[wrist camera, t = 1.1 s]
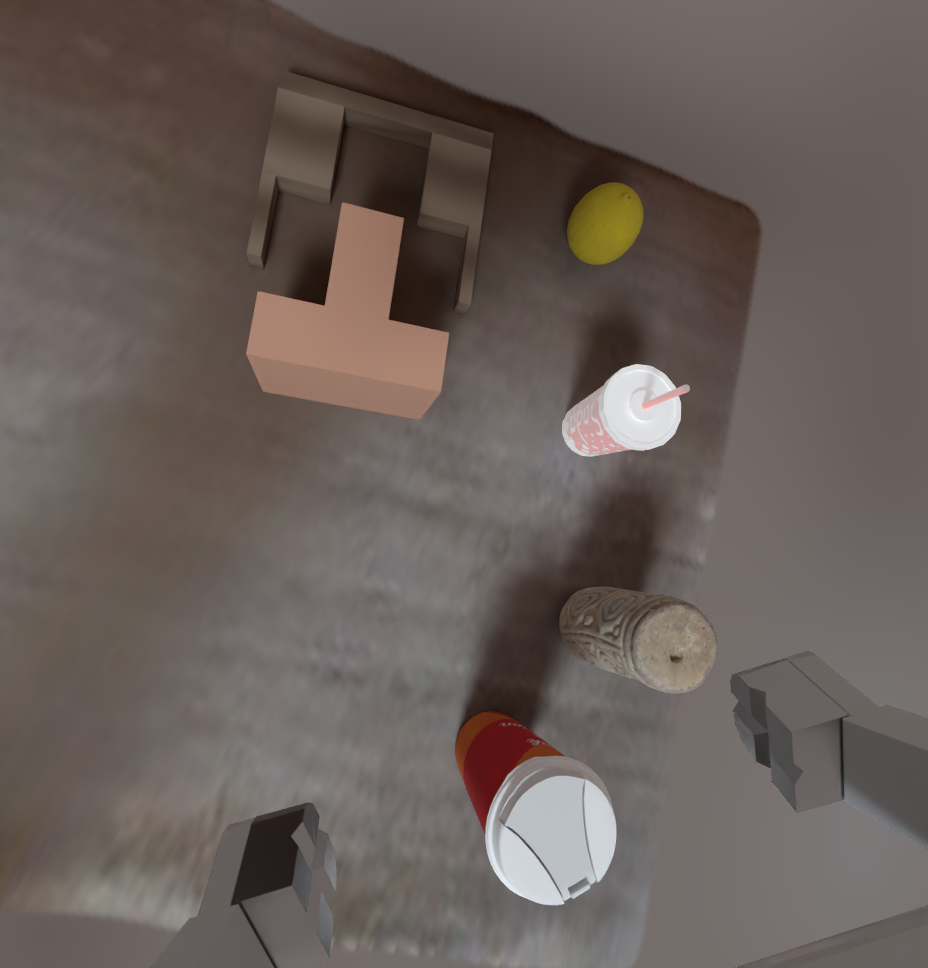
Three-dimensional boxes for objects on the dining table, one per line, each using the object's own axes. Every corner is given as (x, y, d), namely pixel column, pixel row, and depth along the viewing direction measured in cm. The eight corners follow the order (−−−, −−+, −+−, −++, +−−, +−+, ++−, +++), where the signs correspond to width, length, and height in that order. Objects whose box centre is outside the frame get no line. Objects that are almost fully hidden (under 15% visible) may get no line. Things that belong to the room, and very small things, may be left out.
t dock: (464, 314, 47) (470, 304, 45) (250, 266, 43) (246, 253, 42) (487, 149, 49) (493, 133, 47) (283, 89, 45) (281, 69, 43)
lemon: (584, 292, 50) (632, 247, 42) (540, 246, 49) (580, 191, 42) (622, 253, 51) (675, 202, 43) (580, 207, 51) (625, 147, 43)
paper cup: (550, 769, 45) (645, 868, 32) (463, 817, 43) (524, 945, 30) (513, 677, 45) (593, 737, 32) (425, 722, 43) (469, 805, 30)
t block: (419, 419, 45) (441, 391, 37) (262, 391, 43) (246, 354, 34) (438, 290, 47) (463, 233, 38) (287, 255, 44) (277, 185, 36)
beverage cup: (562, 385, 49) (652, 326, 35) (625, 407, 50) (737, 358, 36) (546, 453, 48) (632, 419, 34) (611, 474, 49) (719, 449, 35)
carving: (636, 654, 48) (735, 691, 36) (553, 667, 46) (629, 710, 34) (628, 578, 48) (723, 591, 37) (545, 588, 47) (617, 604, 35)
